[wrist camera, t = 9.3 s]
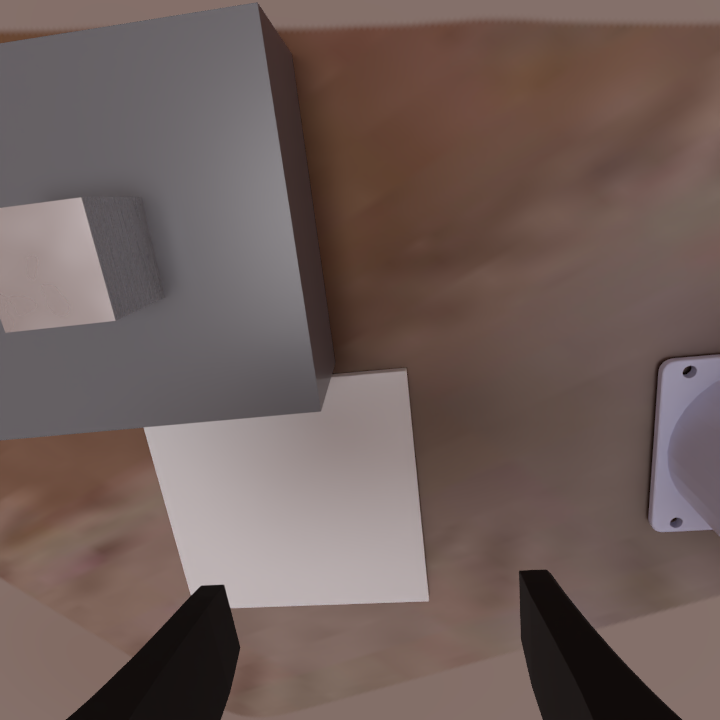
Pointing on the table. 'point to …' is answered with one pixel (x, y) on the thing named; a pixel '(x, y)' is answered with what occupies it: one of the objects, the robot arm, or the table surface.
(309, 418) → the mat
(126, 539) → the table surface
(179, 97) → the cover
